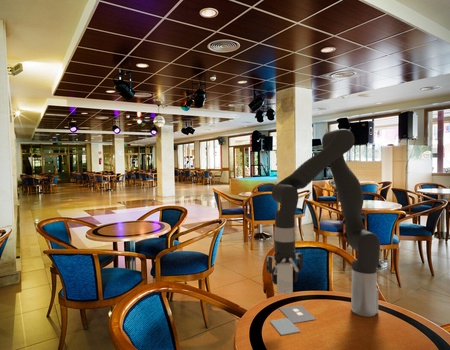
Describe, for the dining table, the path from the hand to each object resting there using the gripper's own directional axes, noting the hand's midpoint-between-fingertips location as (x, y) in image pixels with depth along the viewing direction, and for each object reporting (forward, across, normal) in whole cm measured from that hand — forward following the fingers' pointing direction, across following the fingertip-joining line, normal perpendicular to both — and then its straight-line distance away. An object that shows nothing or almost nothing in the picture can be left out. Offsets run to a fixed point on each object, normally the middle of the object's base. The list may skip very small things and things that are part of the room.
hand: (284, 282), depth 110 cm
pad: (+17, 0, 0) cm, 17 cm away
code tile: (+17, -9, -7) cm, 20 cm away
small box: (+3, 0, 0) cm, 3 cm away
